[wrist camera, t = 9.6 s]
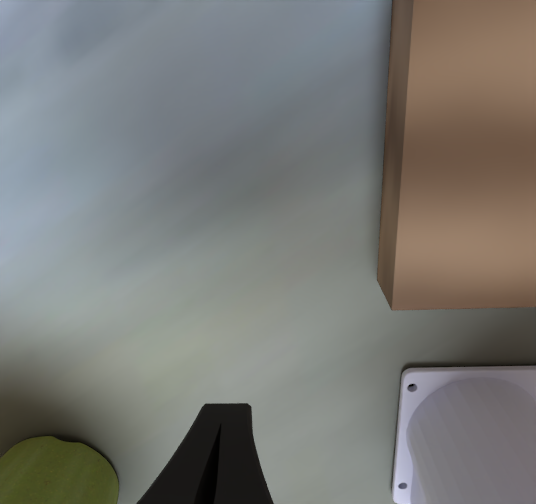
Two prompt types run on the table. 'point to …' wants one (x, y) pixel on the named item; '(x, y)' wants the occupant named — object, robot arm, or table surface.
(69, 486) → the plant pot
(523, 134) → the plate
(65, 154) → the table surface
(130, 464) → the table surface
